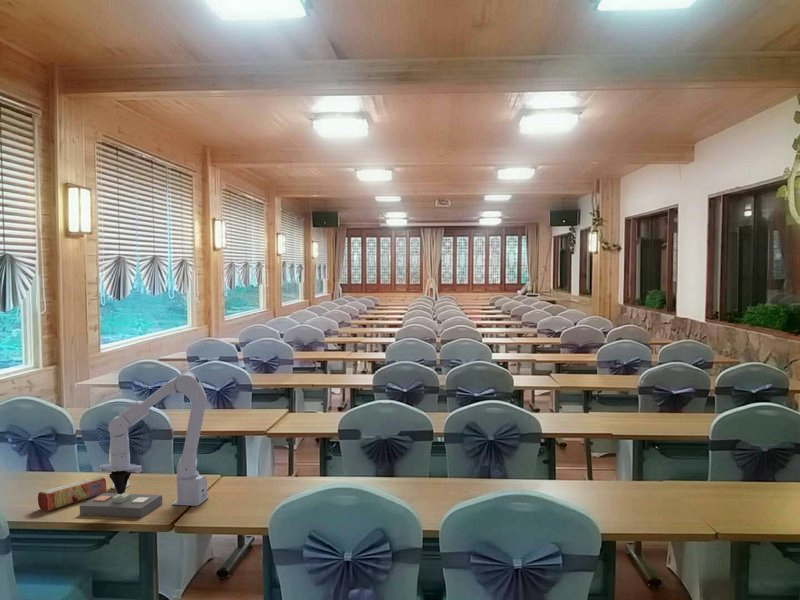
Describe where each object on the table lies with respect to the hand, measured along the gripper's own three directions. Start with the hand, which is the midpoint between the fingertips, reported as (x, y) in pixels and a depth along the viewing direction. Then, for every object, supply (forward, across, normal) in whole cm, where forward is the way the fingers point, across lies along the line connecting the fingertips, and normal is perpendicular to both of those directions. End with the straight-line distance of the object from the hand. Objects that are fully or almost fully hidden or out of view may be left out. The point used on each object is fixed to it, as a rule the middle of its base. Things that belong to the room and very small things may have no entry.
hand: (121, 493), depth 199 cm
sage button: (+4, 0, 0) cm, 4 cm away
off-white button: (+5, +7, 0) cm, 9 cm away
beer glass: (+6, -15, +21) cm, 26 cm away
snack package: (+6, -22, +5) cm, 23 cm away
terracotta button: (+5, -7, 0) cm, 9 cm away
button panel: (+5, 0, 0) cm, 5 cm away
